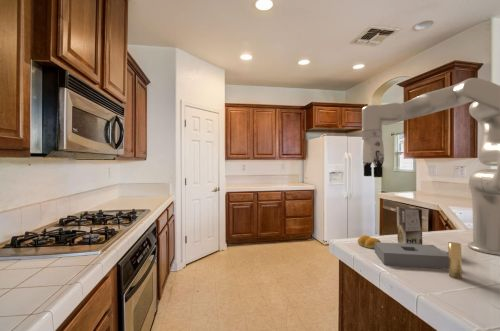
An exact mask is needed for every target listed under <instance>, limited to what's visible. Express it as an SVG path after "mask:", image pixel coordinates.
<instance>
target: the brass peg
mask: <svg viewBox="0 0 500 331" xmlns="http://www.w3.org/2000/svg"><path fill="white" fill-rule="evenodd" d="M447 248H448V250H447V251H448V255H449V269H448V276H449V277H450V278H452V279H457V280H461V279H463V278H462V277H463V274H462V273H463V270H462V266H463V265H462V244H461V243H459V242H455V241H454V242H453V241H448V247H447Z"/></svg>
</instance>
